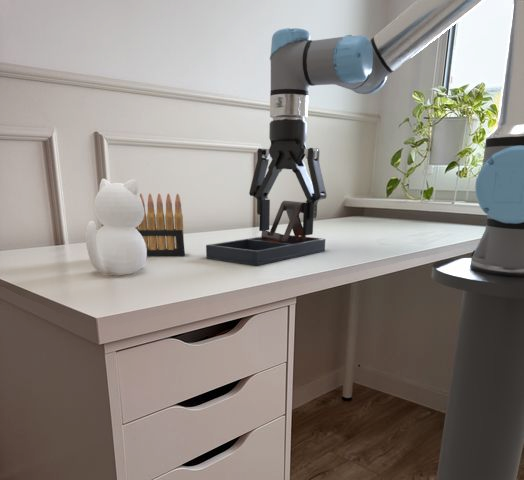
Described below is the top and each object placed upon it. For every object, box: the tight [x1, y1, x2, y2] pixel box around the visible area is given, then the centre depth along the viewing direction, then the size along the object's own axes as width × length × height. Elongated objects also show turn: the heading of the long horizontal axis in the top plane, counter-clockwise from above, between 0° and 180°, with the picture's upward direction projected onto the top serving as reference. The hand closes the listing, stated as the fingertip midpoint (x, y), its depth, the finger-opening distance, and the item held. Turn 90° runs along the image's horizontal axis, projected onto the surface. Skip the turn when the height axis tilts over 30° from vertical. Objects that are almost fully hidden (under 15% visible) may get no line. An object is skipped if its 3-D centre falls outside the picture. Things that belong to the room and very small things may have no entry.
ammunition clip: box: [135, 193, 186, 257], centre depth 102 cm, size 11×2×12 cm, turn 98°
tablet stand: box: [260, 200, 307, 243], centre depth 110 cm, size 9×8×8 cm
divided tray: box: [205, 233, 326, 267], centre depth 107 cm, size 13×24×3 cm, turn 143°
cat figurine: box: [85, 178, 148, 276], centre depth 84 cm, size 9×12×15 cm
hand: (285, 232), depth 111 cm, fingers closed on tablet stand, 11 cm apart
